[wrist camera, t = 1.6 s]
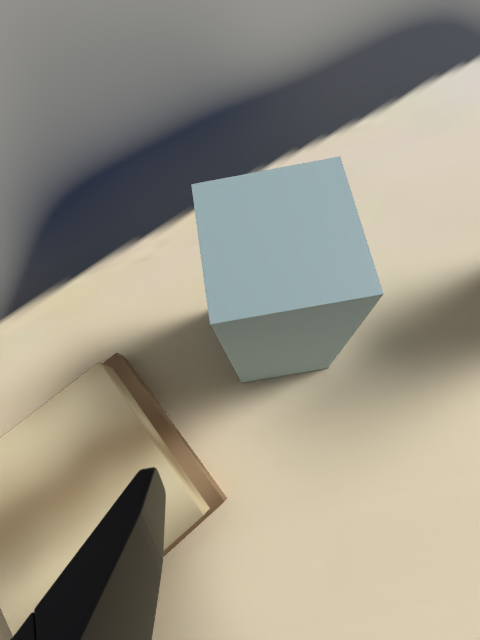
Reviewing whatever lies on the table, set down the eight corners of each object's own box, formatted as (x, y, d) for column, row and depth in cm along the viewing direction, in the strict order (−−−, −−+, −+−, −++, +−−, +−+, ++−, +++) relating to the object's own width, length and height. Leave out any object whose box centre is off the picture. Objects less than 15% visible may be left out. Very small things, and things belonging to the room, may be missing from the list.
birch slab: (209, 508, 19) (203, 515, 17) (54, 646, 18) (28, 670, 16) (113, 368, 22) (99, 362, 20) (-27, 477, 21) (-56, 480, 19)
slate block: (327, 368, 22) (383, 293, 11) (241, 382, 23) (209, 324, 11) (308, 289, 24) (340, 156, 13) (229, 303, 24) (191, 184, 13)
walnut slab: (228, 496, 21) (224, 501, 19) (75, 634, 20) (54, 655, 18) (128, 359, 24) (116, 352, 23) (-10, 468, 23) (-35, 471, 21)
